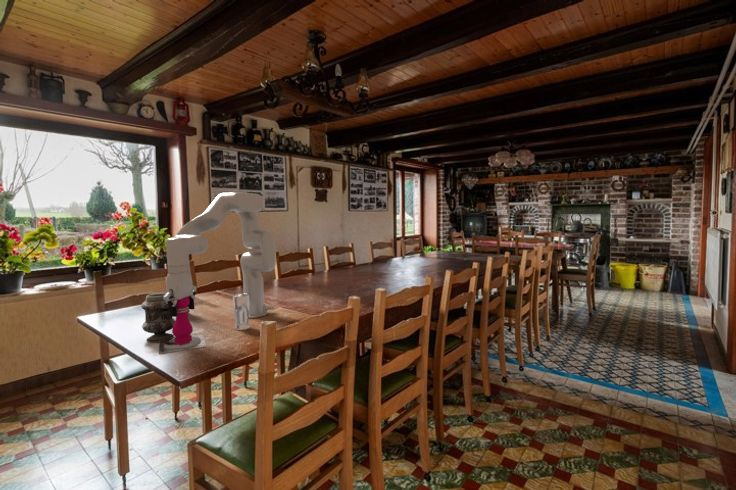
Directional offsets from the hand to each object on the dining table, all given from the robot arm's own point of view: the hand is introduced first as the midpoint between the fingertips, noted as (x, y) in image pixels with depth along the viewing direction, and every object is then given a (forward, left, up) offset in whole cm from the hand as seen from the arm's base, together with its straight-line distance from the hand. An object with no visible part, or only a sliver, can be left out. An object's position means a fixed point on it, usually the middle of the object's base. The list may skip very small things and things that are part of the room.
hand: (182, 312), depth 151 cm
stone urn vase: (+8, -11, -12) cm, 18 cm away
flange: (+1, 0, -12) cm, 12 cm away
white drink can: (-24, -10, -13) cm, 28 cm away
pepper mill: (0, 0, -12) cm, 12 cm away
